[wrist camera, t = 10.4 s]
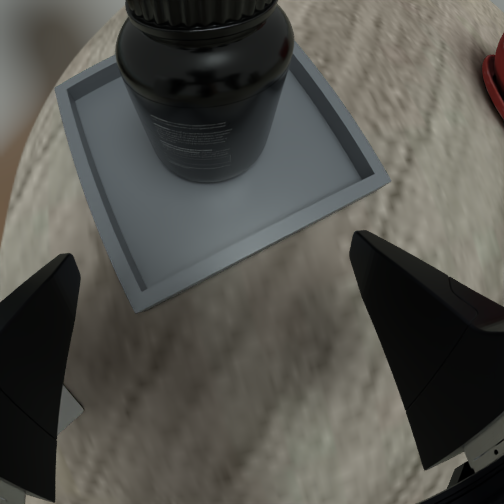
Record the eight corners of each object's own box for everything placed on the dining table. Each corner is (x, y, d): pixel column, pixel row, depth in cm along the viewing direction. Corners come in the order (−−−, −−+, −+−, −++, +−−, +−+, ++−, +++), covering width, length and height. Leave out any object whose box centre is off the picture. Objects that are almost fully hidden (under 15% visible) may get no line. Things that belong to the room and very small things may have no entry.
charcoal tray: (145, 310, 17) (135, 313, 15) (66, 103, 18) (54, 88, 15) (375, 191, 19) (391, 181, 17) (259, 24, 20) (262, 5, 18)
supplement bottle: (289, 128, 18) (360, -30, 6) (214, 210, 17) (202, 63, 5) (207, 70, 18) (204, -87, 6) (130, 140, 17) (49, -11, 5)
